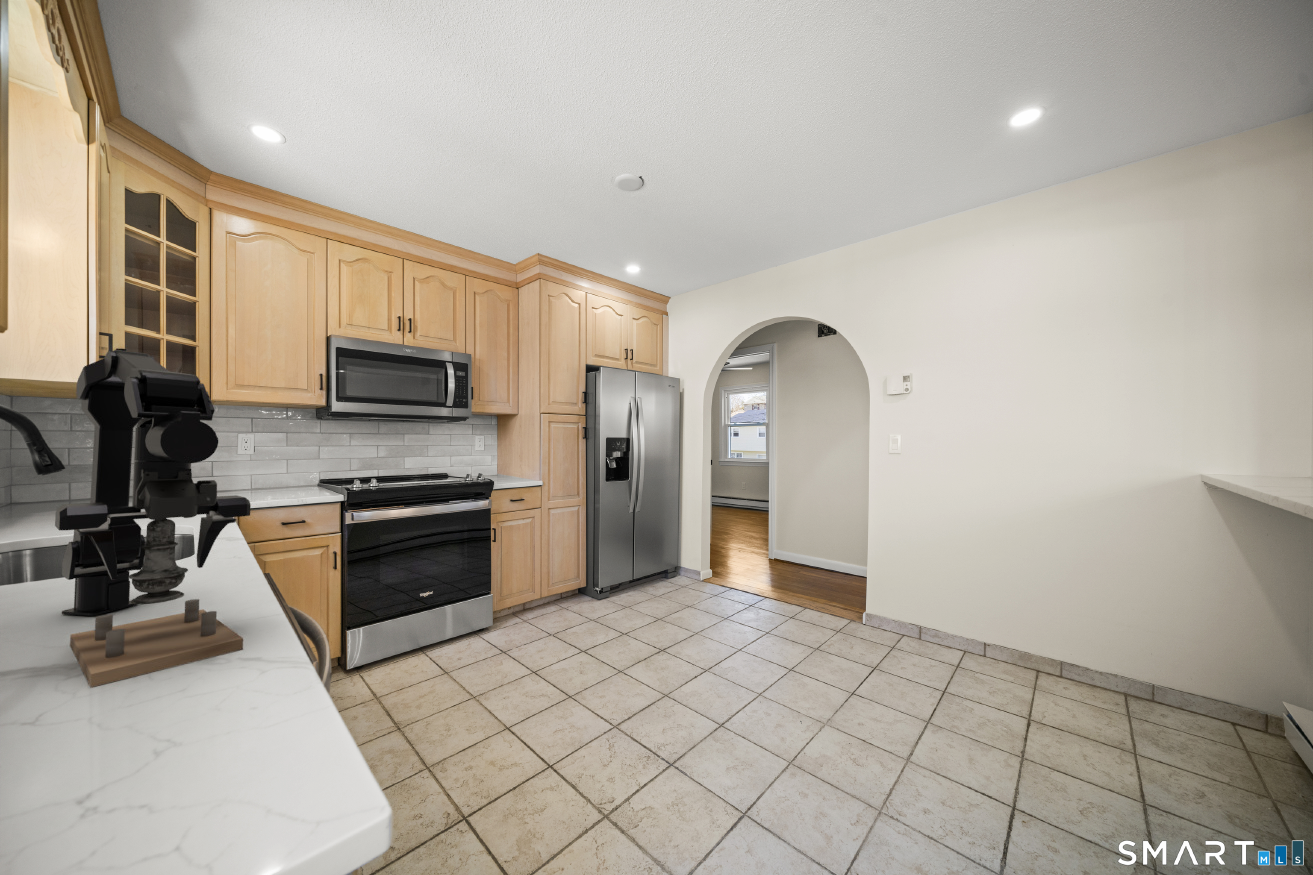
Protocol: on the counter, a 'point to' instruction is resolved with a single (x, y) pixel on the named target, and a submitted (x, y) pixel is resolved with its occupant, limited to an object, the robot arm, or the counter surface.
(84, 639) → the peg board
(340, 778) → the counter surface
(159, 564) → the dark grey turned piece
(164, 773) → the counter surface
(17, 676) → the counter surface
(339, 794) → the counter surface
